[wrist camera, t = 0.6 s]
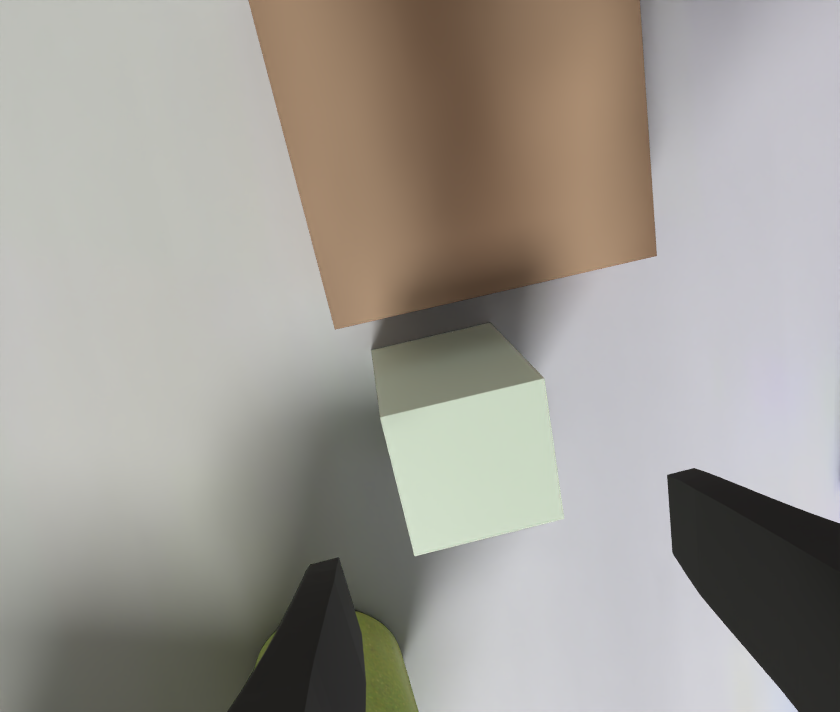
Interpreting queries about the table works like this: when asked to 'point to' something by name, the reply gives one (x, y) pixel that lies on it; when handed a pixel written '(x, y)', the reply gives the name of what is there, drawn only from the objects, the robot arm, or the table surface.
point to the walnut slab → (461, 143)
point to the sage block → (466, 437)
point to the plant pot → (380, 669)
